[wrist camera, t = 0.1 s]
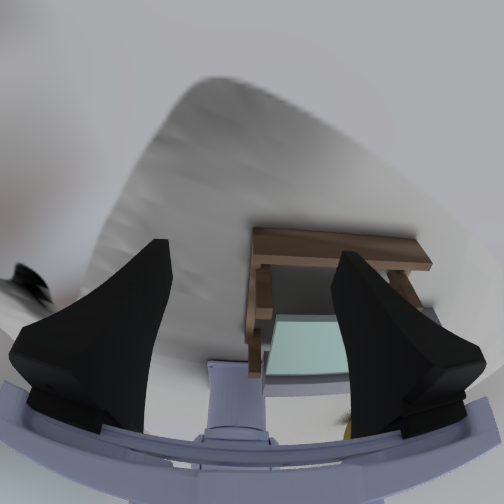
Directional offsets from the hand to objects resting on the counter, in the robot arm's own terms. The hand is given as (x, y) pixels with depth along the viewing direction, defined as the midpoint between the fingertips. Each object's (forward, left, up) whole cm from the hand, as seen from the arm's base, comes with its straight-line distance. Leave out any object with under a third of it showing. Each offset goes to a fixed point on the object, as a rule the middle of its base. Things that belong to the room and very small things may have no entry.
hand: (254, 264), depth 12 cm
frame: (-11, -8, -10) cm, 17 cm away
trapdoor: (-15, -8, -8) cm, 18 cm away
